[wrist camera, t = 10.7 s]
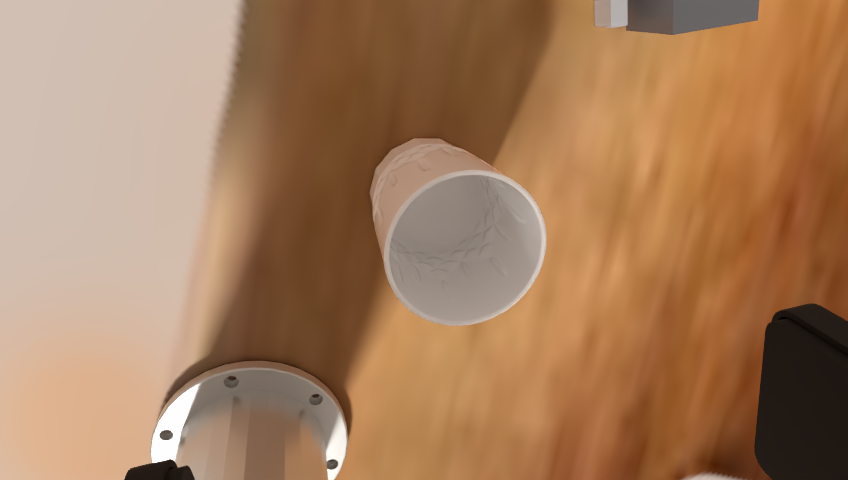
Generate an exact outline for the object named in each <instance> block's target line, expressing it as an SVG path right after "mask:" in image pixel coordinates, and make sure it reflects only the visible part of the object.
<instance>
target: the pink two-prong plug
mask: <svg viewBox="0 0 848 480" xmlns="http://www.w3.org/2000/svg"><path fill="white" fill-rule="evenodd" d="M594 12H595V27H605V28H615V27H621V26H627V25H628V10H627V0H594Z"/></svg>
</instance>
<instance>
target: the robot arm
mask: <svg viewBox="0 0 848 480" xmlns="http://www.w3.org/2000/svg"><path fill="white" fill-rule="evenodd" d="M231 376H234V377H231ZM347 446H348V434H347V425H346V421H345V416H344V412H343V410H342V408H341V406H340V404H339V402H338V400H337V398H336V397H335V396H334V395H333V393H332V392H331V391H330V390H329V388H328V387H327V386H325V385H324V384H323V383H322V382H320V381H319V380H318V379H317V378H315V377H314V376H312V375H310V374H308V373H306V372H305V371H303V370H301V369H298V368H295V367H292V366H289V365H286V364H283V363H276V362H269V361H242V362H237V363H231V364H226V365H222V366H220V367H217V368H214V369H211V370H208V371H206V372H204V373H202V374H200V375H199V376H197V377H195V378H193V379H192V380H190V381H189V382H187V383H186V384H185V385H184V386H182V387H181V388H180V389H179V390H178V391H176V392H175V393H174V395H173V396H172V397H171V398H170V400H169V401H168V402H167V403H166V404H165V406H164V408H163V410H162V412H161V414H160V415H159V417H158V419H157V422H156V425H155V428H154V431H153V435H152V442H151V450H150V452H151V460H152V463H151V464H146V465H142V466H138V467H134V468H131V469H130V470H128V472H127V474H126V476H125V479H124V480H335V478H336V477H337V475H338V473H339V472H340V470H341V468H342V465H343V463H344V460H345V457H346V453H347ZM754 448H755V455H756V458H757V461H758V463H759V465H760V466H761V468H762V469H763V470H764V471H765V473H766V474H767V475H768V476H769V477H770V478H771V479H772V480H848V321H846V320H844V319H843V318H841V317H839V316H837V315H836V314H834V313H832V312H830V311H829V310H827V309H825V308H823V307H822V306H819V305H817V304H805V305H801V306H797V307H793V308H789V309H785V310H781V311H779V312H777V313H775V315H774V316H773V318H772V322H771V323H769V324H768V325H767V327H766V331H765V342H764V352H763V363H762V373H761V384H760V394H759V405H758V415H757V426H756V436H755V447H754Z"/></svg>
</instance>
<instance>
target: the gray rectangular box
mask: <svg viewBox="0 0 848 480" xmlns="http://www.w3.org/2000/svg"><path fill="white" fill-rule="evenodd" d="M758 9H759V0H627V10H628V25H627V26H626V30H627V31H638V32H648V33H659V34H669V35H675V34H681V33H686V32H692V31H698V30H704V29H710V28H715V27H721V26H727V25H733V24H739V23H744V22H750V21H756V20H758Z"/></svg>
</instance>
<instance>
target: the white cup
mask: <svg viewBox="0 0 848 480" xmlns="http://www.w3.org/2000/svg"><path fill="white" fill-rule="evenodd" d="M370 197H371V202H372V206H373V220H374V226H375V231H376V235H377V239H378V243H379V247H380V251H381V255H382V259H383V263H384V267H385V272H386V276H387V279H388V281H389V284H390V286H391V288H392V290H393V292H394V293H395V295H396V296H397V298H398V299H399V300H400V301H401V303H402V304H403V305H404V306H405V307H407V308H408V309H409V310H410V311H411V312H413V313H414V314H416V315H418V316H419V317H421V318H423V319H425V320H428V321H431V322H434V323H437V324H442V325H450V326H463V325H471V324H476V323H480V322H483V321H486V320H489V319H491V318H493V317H495V316H497V315H499V314H501V313H503V312H504V311H506V310H507V309H509V308H510V307H512V306H513V305H514V304H515V303H516V302H518V301H519V300H520V299H521V298H522V297H523V296H524V294H525V293H526V292H527V291H528V290H529V288H530V287H531V286H532V284H533V282H534V281H535V279H536V277H537V275H538V273H539V271H540V269H541V266H542V263H543V260H544V256H545V251H546V228H545V223H544V219H543V216H542V213H541V211H540V209H539V207H538V205H537V203H536V202H535V200H534V199H533V197H532V196H531V195H530V194H529V193H528V191H527V190H525V189H524V188H523V187H522V186H521V185H520V184H518V183H517V182H515V181H514V180H512V179H511V178H509V177H508V176H506V175H505V174H503V173H502V172H500V171H499V170H497V169H496V168H494V167H493V166H491V165H490V164H488V163H486V162H485V161H483V160H482V159H480V158H478V157H476V156H474V155H473V154H471V153H469V152H467V151H466V150H464V149H461V148H458V147H456V146H454V145H452V144H450V143H448V142H446V141H444V140H442V139H440V138H414V139H412V140H410V141H408V142H406V143H404V144H402V145H400V146H397V147H395V148H393V149H391V151H390V152H389V153H388V154H387V155H386V157H385V158H384V159H383V160H382V162H381V163H380V164H379V165H378V166H377V168H376V169H375V173H374V177H373V181H372V185H371V189H370Z"/></svg>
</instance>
